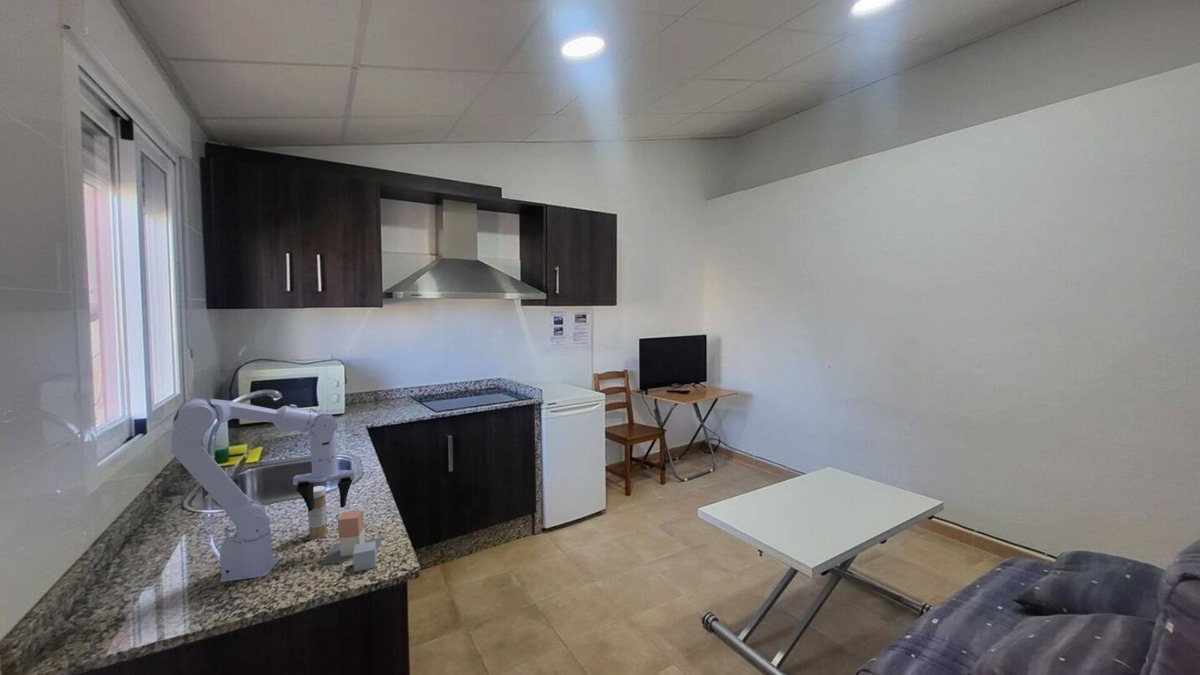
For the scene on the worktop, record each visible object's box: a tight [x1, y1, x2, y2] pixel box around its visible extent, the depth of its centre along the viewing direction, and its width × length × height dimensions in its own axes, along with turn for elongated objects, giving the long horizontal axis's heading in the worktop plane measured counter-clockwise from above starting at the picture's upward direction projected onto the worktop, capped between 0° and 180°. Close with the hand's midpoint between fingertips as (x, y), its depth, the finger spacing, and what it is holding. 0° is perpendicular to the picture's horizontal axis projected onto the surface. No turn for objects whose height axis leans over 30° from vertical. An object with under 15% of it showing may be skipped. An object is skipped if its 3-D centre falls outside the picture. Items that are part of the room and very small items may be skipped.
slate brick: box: [352, 541, 378, 572], centre depth 113 cm, size 5×5×5 cm
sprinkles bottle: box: [307, 485, 329, 539], centre depth 128 cm, size 5×5×13 cm
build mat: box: [320, 537, 383, 566], centre depth 120 cm, size 12×10×1 cm
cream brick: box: [338, 527, 366, 556], centre depth 119 cm, size 5×5×5 cm
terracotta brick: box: [337, 509, 365, 539], centre depth 119 cm, size 5×5×5 cm
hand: (327, 507), depth 122 cm, fingers open, 7 cm apart
